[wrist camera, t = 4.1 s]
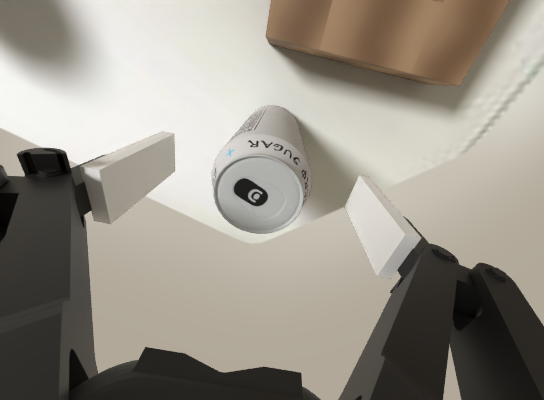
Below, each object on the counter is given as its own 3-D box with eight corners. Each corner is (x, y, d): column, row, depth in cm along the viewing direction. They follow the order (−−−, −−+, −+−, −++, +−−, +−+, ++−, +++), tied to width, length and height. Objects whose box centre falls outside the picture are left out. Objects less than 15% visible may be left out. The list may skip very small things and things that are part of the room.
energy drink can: (277, 167, 26) (270, 256, 13) (236, 138, 25) (183, 206, 12) (310, 127, 24) (340, 189, 11) (266, 91, 22) (239, 114, 9)
